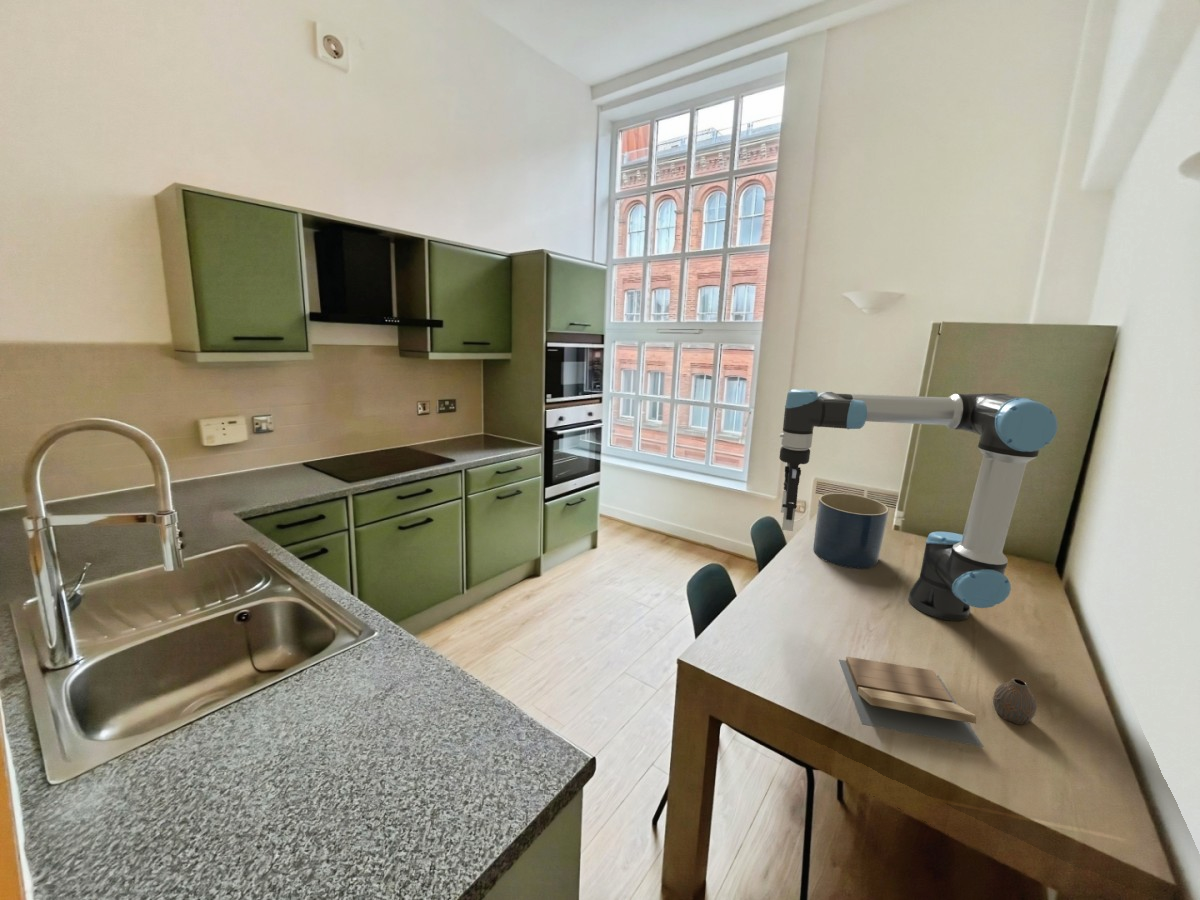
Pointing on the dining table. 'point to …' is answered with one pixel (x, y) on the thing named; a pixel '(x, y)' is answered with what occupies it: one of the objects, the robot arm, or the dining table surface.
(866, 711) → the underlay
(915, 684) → the laid board
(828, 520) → the planter
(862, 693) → the plank
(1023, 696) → the vase
